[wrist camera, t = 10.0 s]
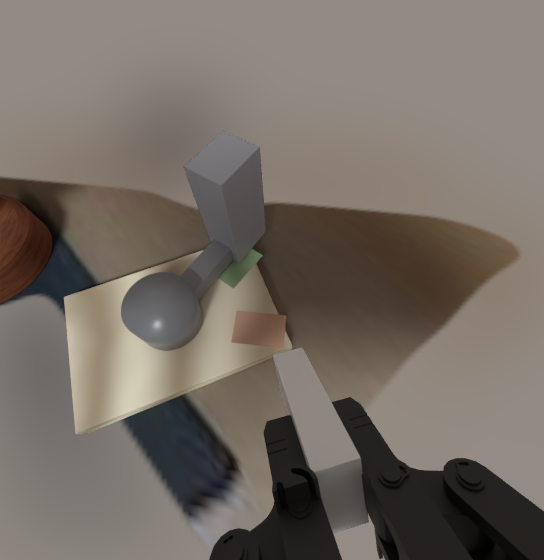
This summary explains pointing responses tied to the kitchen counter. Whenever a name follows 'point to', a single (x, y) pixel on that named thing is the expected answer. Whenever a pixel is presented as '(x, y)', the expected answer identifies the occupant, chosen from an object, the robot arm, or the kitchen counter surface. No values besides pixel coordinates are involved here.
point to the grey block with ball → (216, 256)
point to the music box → (20, 247)
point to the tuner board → (157, 363)
